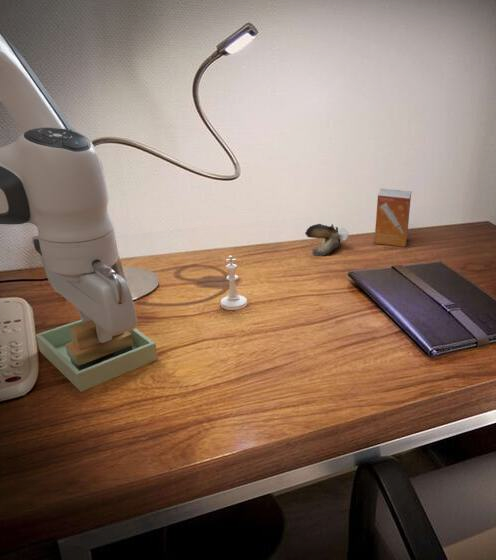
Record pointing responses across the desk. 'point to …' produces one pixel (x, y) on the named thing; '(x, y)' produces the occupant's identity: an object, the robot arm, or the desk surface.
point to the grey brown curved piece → (326, 237)
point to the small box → (392, 217)
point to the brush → (94, 346)
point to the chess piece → (233, 289)
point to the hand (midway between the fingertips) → (98, 335)
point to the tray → (94, 375)
